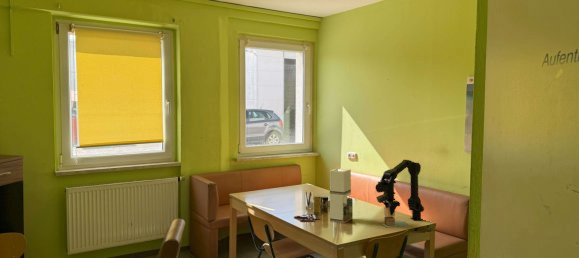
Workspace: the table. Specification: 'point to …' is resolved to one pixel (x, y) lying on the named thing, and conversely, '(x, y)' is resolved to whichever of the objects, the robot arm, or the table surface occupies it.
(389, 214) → the terracotta cube
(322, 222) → the table surface
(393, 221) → the walnut cube
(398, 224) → the plan board
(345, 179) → the cream tall block
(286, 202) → the table surface
